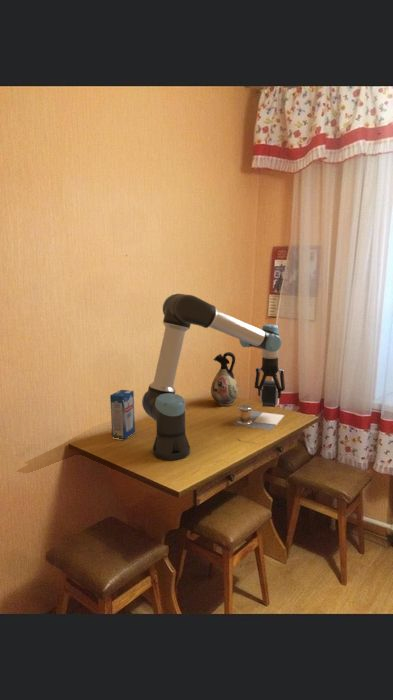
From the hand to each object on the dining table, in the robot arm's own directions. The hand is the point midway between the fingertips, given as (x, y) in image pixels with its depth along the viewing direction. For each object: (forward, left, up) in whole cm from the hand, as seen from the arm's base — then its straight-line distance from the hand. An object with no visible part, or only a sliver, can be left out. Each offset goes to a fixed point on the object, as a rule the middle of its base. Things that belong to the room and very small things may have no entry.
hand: (269, 403), depth 209 cm
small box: (0, 0, 0) cm, 1 cm away
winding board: (-4, -3, -9) cm, 11 cm away
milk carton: (-55, -45, -10) cm, 71 cm away
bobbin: (-9, -10, -8) cm, 16 cm away
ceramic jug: (-31, +19, -10) cm, 37 cm away
